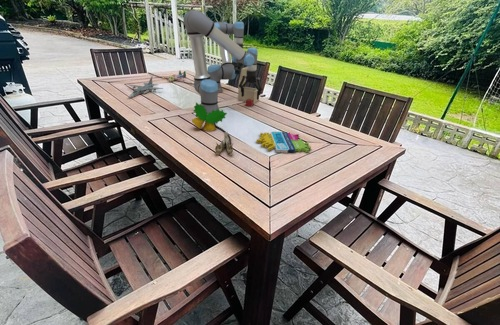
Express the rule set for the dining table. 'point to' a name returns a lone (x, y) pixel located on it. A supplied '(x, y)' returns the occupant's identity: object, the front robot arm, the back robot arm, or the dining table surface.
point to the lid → (242, 74)
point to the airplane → (143, 88)
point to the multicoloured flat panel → (283, 142)
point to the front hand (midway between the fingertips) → (250, 97)
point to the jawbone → (224, 145)
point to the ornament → (207, 117)
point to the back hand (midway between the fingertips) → (237, 74)
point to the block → (249, 102)
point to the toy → (176, 77)
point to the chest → (248, 94)
